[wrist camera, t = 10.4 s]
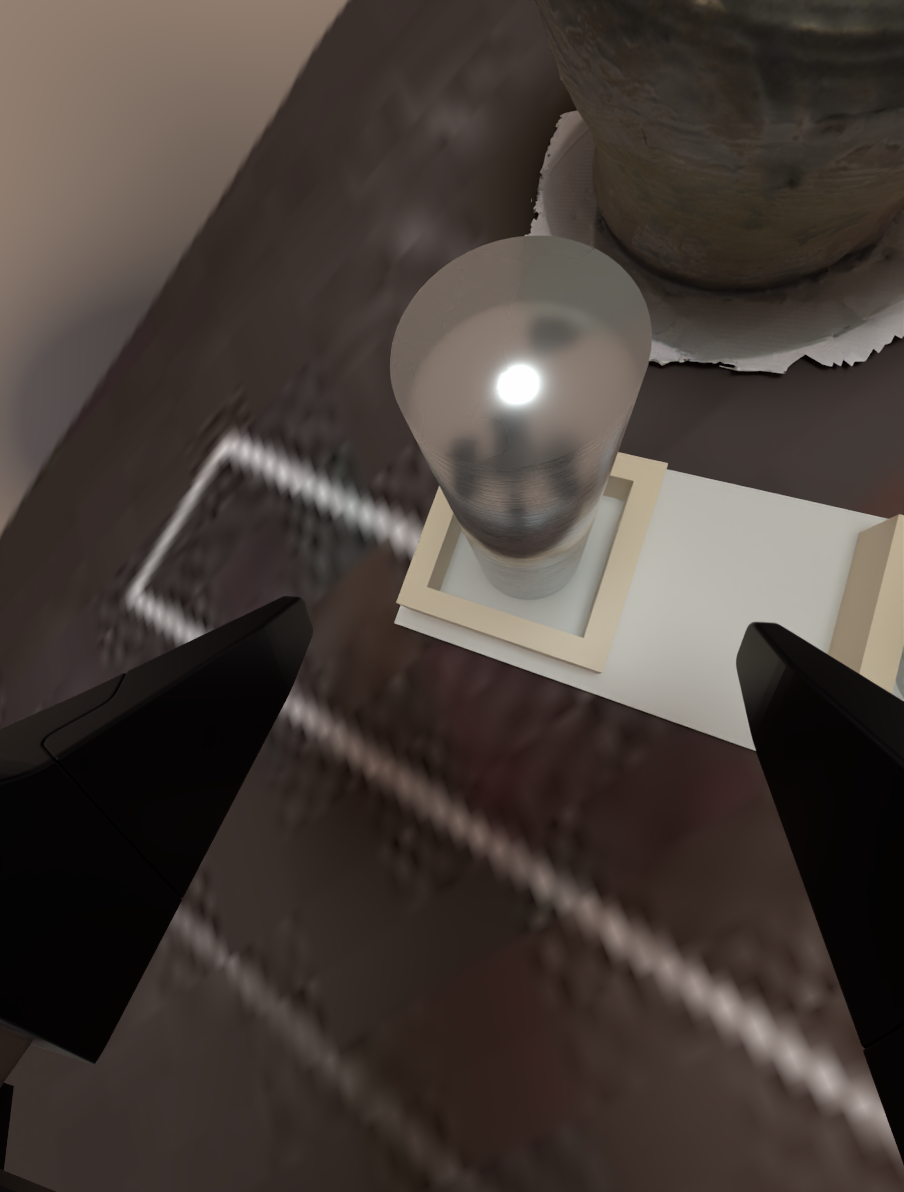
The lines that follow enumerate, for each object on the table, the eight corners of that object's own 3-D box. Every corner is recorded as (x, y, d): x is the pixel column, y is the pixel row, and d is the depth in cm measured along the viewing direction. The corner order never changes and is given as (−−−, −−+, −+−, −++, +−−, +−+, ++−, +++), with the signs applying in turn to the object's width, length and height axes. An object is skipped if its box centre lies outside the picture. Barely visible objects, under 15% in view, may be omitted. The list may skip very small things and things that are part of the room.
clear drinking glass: (537, 620, 19) (536, 518, 7) (459, 560, 20) (342, 382, 8) (602, 540, 19) (710, 304, 7) (521, 484, 20) (494, 199, 8)
